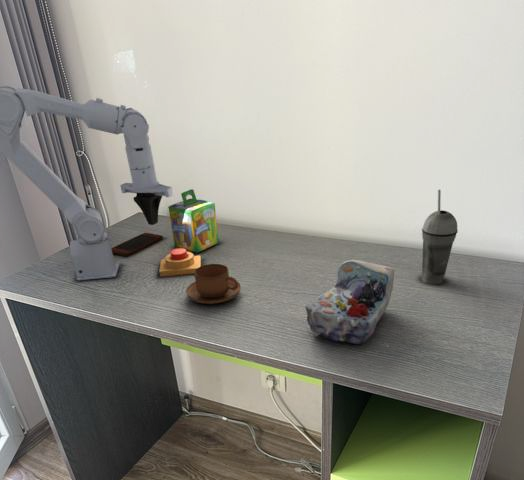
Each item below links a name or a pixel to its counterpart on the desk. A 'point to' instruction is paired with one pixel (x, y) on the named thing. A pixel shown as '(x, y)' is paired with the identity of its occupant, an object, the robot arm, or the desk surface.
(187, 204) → the chalk box
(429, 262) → the beverage cup
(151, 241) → the smartphone
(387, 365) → the desk surface
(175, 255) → the button
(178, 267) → the box
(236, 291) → the cup and saucer
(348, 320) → the cell model
